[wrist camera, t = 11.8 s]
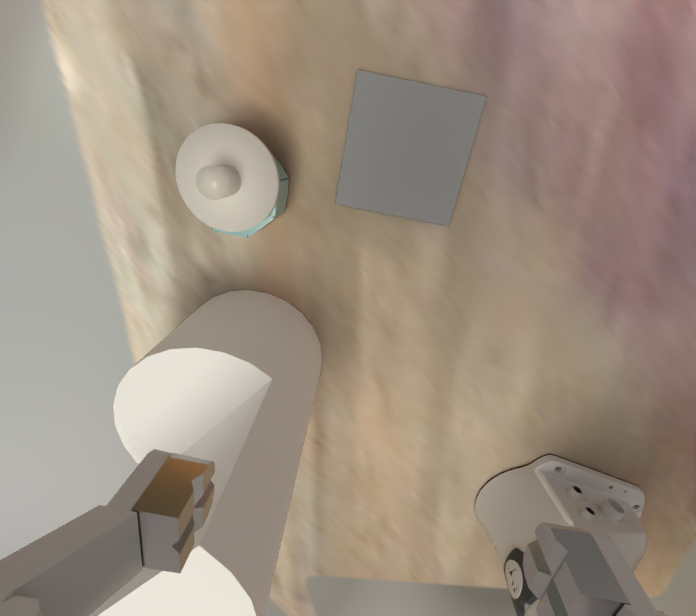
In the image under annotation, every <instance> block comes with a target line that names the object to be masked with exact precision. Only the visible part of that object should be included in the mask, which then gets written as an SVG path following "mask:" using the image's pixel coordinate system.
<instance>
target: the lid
mask: <svg viewBox="0 0 696 616" xmlns="http://www.w3.org/2000/svg"><path fill="white" fill-rule="evenodd" d="M176 180H177V185H178V189H179V192H180V194H181V196H182V198H183V200H184V202H185V204H186V205H187V207H188V208H189V209H190V211H191V212H192V213H193V214H194V215H195V216H196V217H197V218H198V219H199V220H201V221H202V222H204V223H205V224H207V225H209V226H210V227H213V228H215V229H218V230H221V231H227V232H240V231H245V230H248V229H250V228H253V227H255V226H256V225H258V224H259V223H261V222H262V221H264V220H265V219H266V218H267V217H268V216H269V215H270V213H271V212H272V210H273V209H274V207H275V205H276V203H277V200H278V196H279V191H280V176H279V171H278V167H277V164H276V161H275V159H274V157H273V155H272V153H271V152H270V150H269V149H268V147H267V146H266V145H265V143H264V142H263V141H262V140H261V139H260V138H258V137H257V136H256V135H255V134H253V133H252V132H250V131H248V130H246V129H244V128H242V127H239V126H236V125H231V124H225V123H215V124H209V125H206V126H203V127H201V128H199V129H197V130H195V131H194V132H193V133H191V134H190V135H189V136H188V137H187V139H186V140H185V141H184V143H183V144H182V146H181V148H180V150H179V153H178V156H177V161H176Z"/></svg>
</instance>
